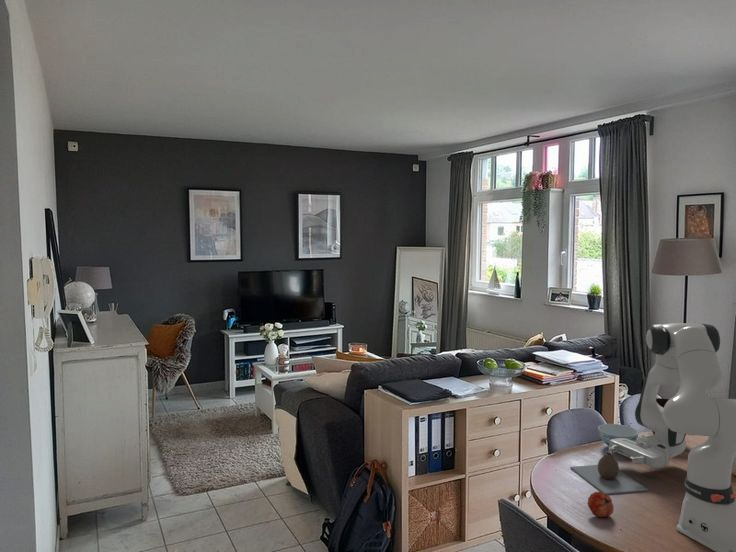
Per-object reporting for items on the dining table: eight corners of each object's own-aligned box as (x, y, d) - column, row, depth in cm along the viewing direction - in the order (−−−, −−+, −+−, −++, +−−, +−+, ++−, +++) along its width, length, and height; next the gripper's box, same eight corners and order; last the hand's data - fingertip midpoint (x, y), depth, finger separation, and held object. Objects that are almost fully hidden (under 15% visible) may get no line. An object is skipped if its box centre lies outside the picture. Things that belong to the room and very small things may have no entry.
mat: (647, 491, 197) (648, 489, 197) (604, 494, 194) (604, 493, 194) (609, 465, 219) (609, 463, 219) (570, 468, 216) (570, 466, 216)
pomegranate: (583, 519, 182) (598, 513, 174) (579, 495, 186) (593, 487, 178) (605, 521, 183) (621, 514, 174) (601, 497, 187) (616, 489, 179)
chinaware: (632, 443, 242) (632, 425, 241) (642, 457, 227) (643, 437, 226) (594, 440, 244) (594, 422, 244) (601, 454, 230) (602, 435, 229)
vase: (614, 483, 201) (615, 459, 201) (594, 478, 206) (595, 453, 205) (621, 477, 207) (622, 453, 206) (601, 472, 211) (602, 448, 210)
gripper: (625, 432, 223) (598, 437, 218) (672, 450, 205) (644, 457, 199) (624, 448, 224) (597, 453, 218) (672, 468, 205) (643, 474, 200)
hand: (620, 455), depth 208 cm, fingers open, 8 cm apart
